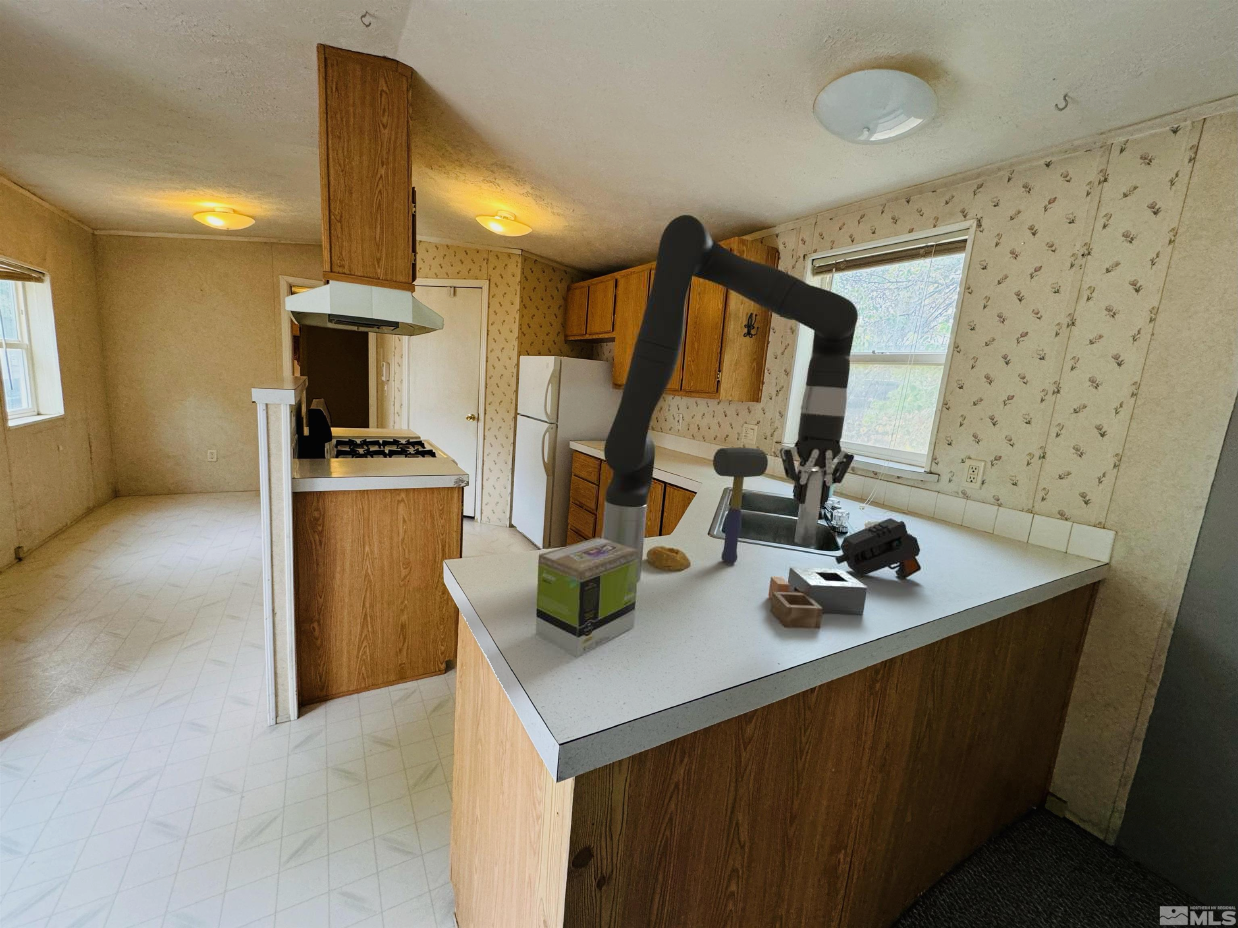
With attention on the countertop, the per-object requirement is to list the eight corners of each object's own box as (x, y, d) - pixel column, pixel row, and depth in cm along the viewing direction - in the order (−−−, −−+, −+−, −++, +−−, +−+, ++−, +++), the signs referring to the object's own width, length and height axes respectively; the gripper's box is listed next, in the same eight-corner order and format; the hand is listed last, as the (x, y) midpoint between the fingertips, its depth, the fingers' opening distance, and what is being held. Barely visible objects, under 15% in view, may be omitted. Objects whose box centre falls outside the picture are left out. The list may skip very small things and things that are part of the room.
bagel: (694, 574, 117) (696, 555, 116) (648, 572, 116) (650, 553, 115) (685, 560, 126) (687, 542, 126) (643, 558, 126) (645, 540, 125)
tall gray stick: (799, 545, 92) (809, 471, 90) (791, 539, 96) (801, 468, 94) (818, 546, 93) (828, 472, 90) (809, 540, 96) (819, 469, 94)
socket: (806, 612, 100) (810, 584, 99) (786, 592, 110) (789, 566, 109) (862, 614, 101) (867, 587, 100) (837, 594, 111) (841, 569, 110)
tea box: (593, 609, 94) (598, 534, 92) (635, 628, 88) (642, 549, 85) (532, 636, 82) (537, 551, 80) (575, 660, 76) (582, 569, 74)
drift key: (775, 603, 102) (778, 583, 102) (768, 595, 106) (770, 576, 106) (818, 605, 103) (821, 585, 102) (810, 597, 107) (812, 578, 106)
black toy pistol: (930, 573, 122) (910, 518, 120) (856, 601, 123) (835, 548, 121) (916, 564, 128) (897, 512, 126) (845, 591, 129) (826, 541, 127)
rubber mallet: (716, 570, 120) (730, 448, 115) (699, 560, 127) (712, 444, 122) (757, 567, 125) (772, 450, 120) (739, 557, 132) (752, 445, 127)
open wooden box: (784, 626, 93) (787, 606, 92) (770, 610, 100) (772, 591, 99) (819, 628, 93) (822, 608, 93) (803, 611, 100) (805, 593, 100)
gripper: (794, 410, 86) (781, 506, 89) (871, 416, 87) (856, 510, 90) (777, 408, 94) (766, 497, 96) (848, 414, 95) (835, 501, 97)
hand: (810, 503), depth 93 cm, fingers closed on tall gray stick, 3 cm apart
